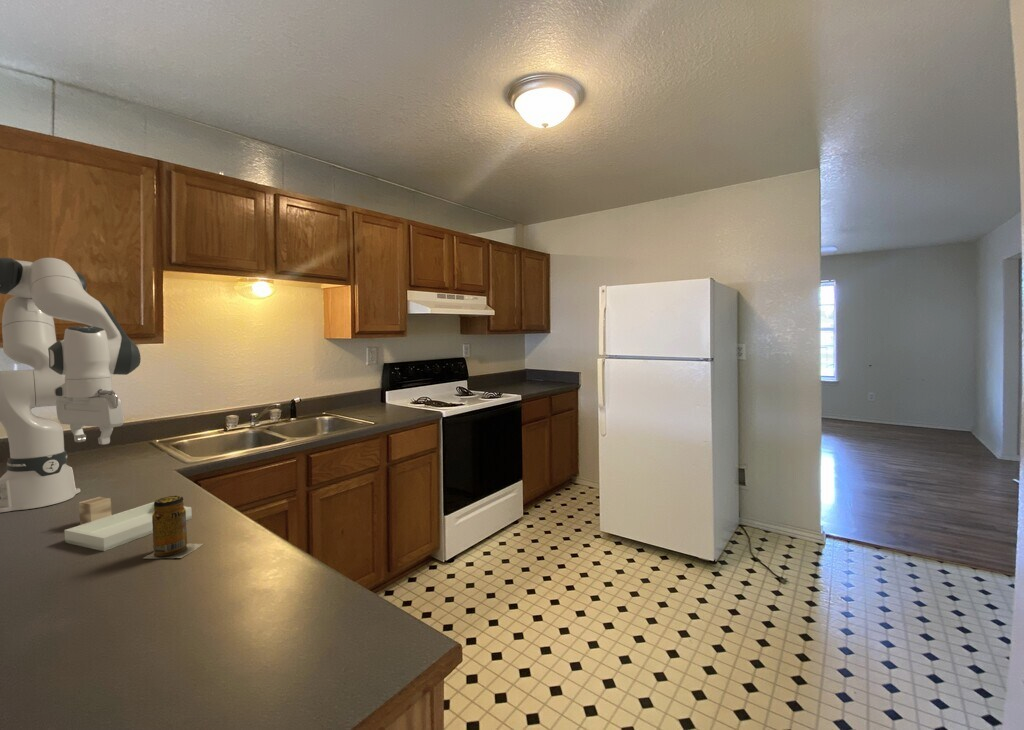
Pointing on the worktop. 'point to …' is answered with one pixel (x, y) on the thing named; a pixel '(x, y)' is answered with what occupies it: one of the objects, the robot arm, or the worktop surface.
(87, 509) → the birch block
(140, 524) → the shallow rimmed tray
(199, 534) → the worktop surface
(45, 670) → the worktop surface
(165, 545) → the condiment
